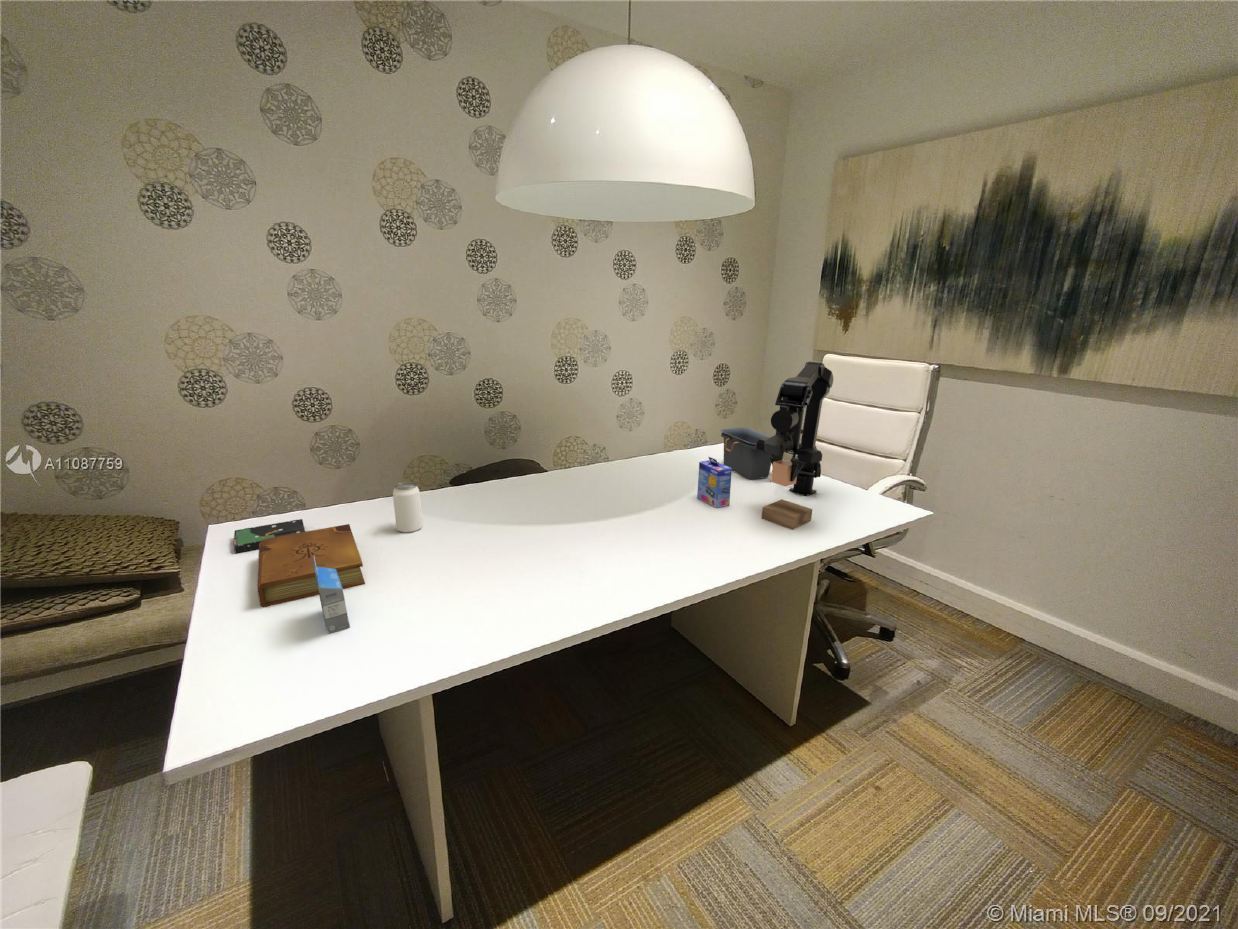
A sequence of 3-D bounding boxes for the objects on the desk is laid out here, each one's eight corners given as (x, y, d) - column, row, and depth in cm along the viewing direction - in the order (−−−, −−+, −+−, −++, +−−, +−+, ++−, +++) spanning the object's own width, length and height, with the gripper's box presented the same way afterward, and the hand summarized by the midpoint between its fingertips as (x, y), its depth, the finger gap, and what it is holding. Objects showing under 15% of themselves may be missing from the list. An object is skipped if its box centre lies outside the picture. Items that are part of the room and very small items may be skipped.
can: (427, 528, 142) (423, 485, 139) (403, 535, 138) (399, 491, 134) (415, 521, 146) (411, 479, 143) (392, 528, 142) (387, 485, 138)
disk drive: (303, 528, 142) (235, 539, 134) (302, 518, 141) (233, 529, 133) (307, 542, 134) (235, 556, 125) (306, 532, 133) (233, 545, 125)
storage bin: (779, 479, 190) (784, 440, 186) (744, 484, 184) (748, 444, 179) (742, 462, 208) (745, 426, 204) (709, 466, 202) (712, 429, 198)
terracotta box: (781, 479, 158) (783, 459, 156) (795, 483, 154) (798, 463, 152) (770, 481, 155) (773, 461, 153) (785, 486, 151) (787, 466, 149)
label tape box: (350, 628, 99) (342, 568, 96) (325, 635, 97) (316, 574, 93) (343, 605, 106) (335, 549, 103) (320, 611, 104) (311, 554, 100)
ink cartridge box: (695, 498, 169) (698, 454, 165) (709, 495, 172) (712, 452, 168) (715, 508, 161) (719, 462, 157) (729, 505, 164) (734, 460, 160)
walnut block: (780, 511, 161) (781, 499, 160) (810, 522, 154) (812, 509, 153) (761, 519, 155) (762, 506, 154) (792, 530, 148) (793, 517, 147)
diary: (262, 562, 123) (258, 539, 122) (352, 545, 133) (349, 523, 131) (261, 610, 105) (256, 583, 103) (365, 586, 114) (362, 561, 113)
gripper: (745, 422, 152) (740, 474, 156) (802, 435, 138) (794, 492, 142) (770, 418, 158) (764, 468, 163) (827, 431, 144) (818, 486, 149)
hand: (784, 478), depth 154 cm, fingers closed on terracotta box, 5 cm apart
